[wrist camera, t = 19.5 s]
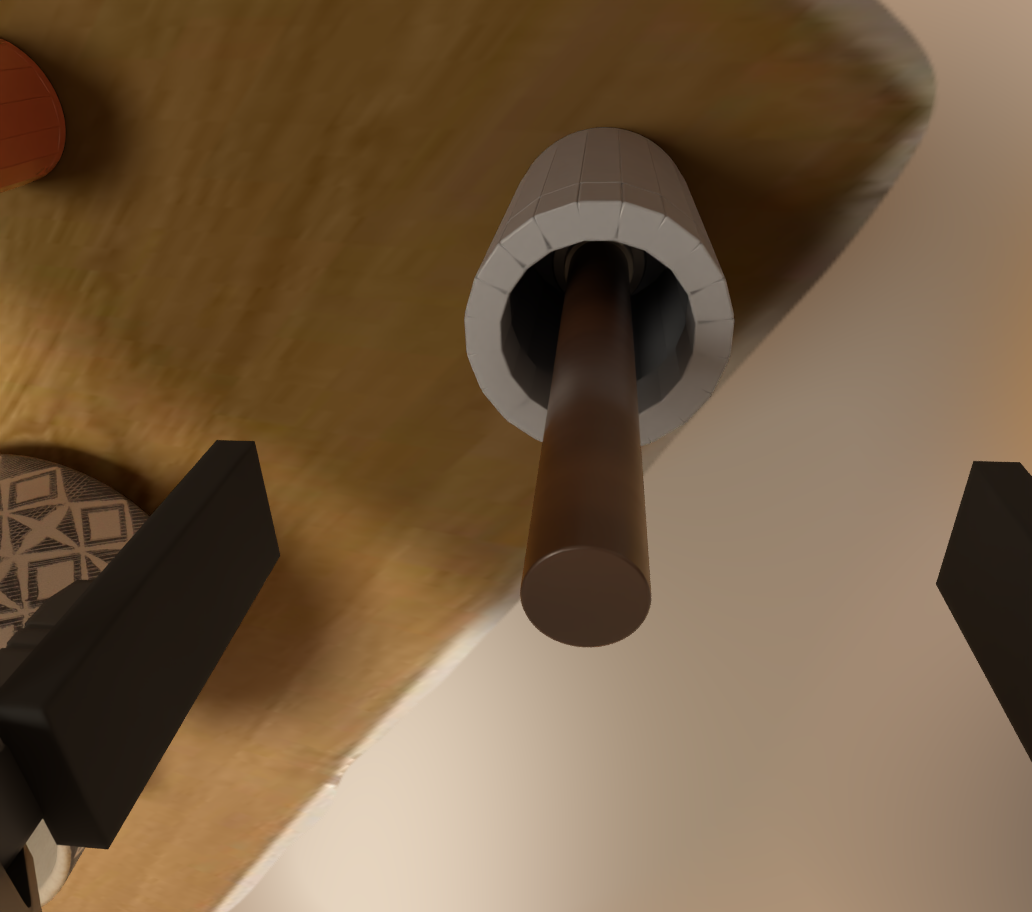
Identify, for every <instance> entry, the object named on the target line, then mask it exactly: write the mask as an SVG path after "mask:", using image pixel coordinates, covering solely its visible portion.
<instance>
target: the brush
mask: <svg viewBox="0 0 1032 912" xmlns="http://www.w3.org/2000/svg"><path fill="white" fill-rule="evenodd" d="M646 264H647V256H646V251H644V250H641V249H638V248H635V247H632V246H629V245H626V244H623V243H619V242H616V241H583V242H580V243H577V244H573V245H570V246H567V247H564V248H561V249H558V250H555V251H553V254H552V271H553V276H554V278H555V281H556V283H557V285H558V287H559V288H560V289H561V291H562V292H563V293H564V294H565V296H564V303H563V310H562V316H561V323H560V330H559V336H558V343H557V350H556V356H555V363H554V370H553V376H552V383H551V389H550V396H549V403H548V409H547V416H546V423H545V429H544V436H543V443H542V449H541V456H540V463H539V469H538V476H537V483H536V489H535V496H534V502H533V509H532V516H531V522H530V529H529V536H528V542H527V549H526V556H525V562H524V569H523V576H522V582H521V590H520V597H521V603H522V606H523V609H524V611H525V613H526V615H527V617H528V618H529V620H530V621H531V623H532V624H533V625H534V626H535V627H536V628H537V629H538V630H539V631H540V632H542V633H543V634H545V635H546V636H548V637H550V638H551V639H553V640H556V641H558V642H561V643H564V644H567V645H572V646H577V647H600V646H605V645H609V644H613V643H616V642H618V641H620V640H623V639H624V638H626V637H628V636H629V635H631V634H632V633H633V632H634V631H636V630H637V629H638V628H639V627H640V625H641V624H642V623H643V621H644V620H645V618H646V616H647V614H648V612H649V609H650V605H651V585H650V570H649V557H648V543H647V527H646V514H645V499H644V485H643V470H642V455H641V441H640V426H639V412H638V398H637V383H636V369H635V354H634V340H633V326H632V311H631V297H630V296H631V295H632V294H633V293H634V292H635V291H636V289H637V288H638V287H639V285H640V283H641V282H642V280H643V277H644V274H645V271H646Z"/></svg>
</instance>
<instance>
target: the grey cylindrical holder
mask: <svg viewBox="0 0 1032 912" xmlns="http://www.w3.org/2000/svg"><path fill="white" fill-rule="evenodd" d="M583 241H616V242H619V243H623V244H626V245H629V246H632V247H635V248H638V249H641V250H644V251H646V256H647V264H646V271H645V274H644V277H643V280H642V282H641V283H640V285H639V287H638V288H637V289H636V291H635V292H634V293H633V294H632V295H631V296H630V297H631V311H632V326H633V340H634V354H635V369H636V383H637V398H638V412H639V426H640V441H641V446H643V445H647V444H650V443H651V442H654V441H656V440H658V439H660V438H661V437H663V436H665V435H666V434H668V433H670V432H672V431H673V430H675V429H677V428H679V427H680V426H682V425H684V424H685V423H686V422H687V421H688V420H689V419H690V418H691V417H692V416H693V415H694V414H695V413H696V412H697V411H698V410H699V409H700V408H701V407H702V405H703V404H704V403H705V402H706V401H707V400H708V399H709V398H710V397H711V396H712V393H713V392H714V391H715V388H716V386H717V384H718V382H719V380H720V378H721V376H722V374H723V372H724V369H725V367H726V365H727V363H728V361H729V358H730V355H731V347H732V338H733V329H734V313H733V308H732V304H731V300H730V296H729V291H728V287H727V283H726V279H725V277H724V274H723V272H722V269H721V267H720V265H719V262H718V260H717V257H716V254H715V252H714V249H713V247H712V245H711V242H710V240H709V237H708V235H707V232H706V230H705V227H704V225H703V223H702V220H701V218H700V215H699V213H698V210H697V208H696V206H695V203H694V201H693V198H692V196H691V193H690V191H689V188H688V186H687V184H686V181H685V179H684V178H683V176H682V175H681V173H680V171H679V170H678V168H677V166H676V165H675V163H674V162H673V161H672V159H671V158H670V157H669V156H668V155H667V154H666V153H665V152H664V151H663V150H662V149H661V148H660V147H659V146H657V145H656V144H655V143H653V142H652V141H650V140H649V139H647V138H645V137H643V136H641V135H639V134H636V133H634V132H631V131H628V130H623V129H618V128H606V127H602V128H591V129H586V130H582V131H578V132H576V133H573V134H570V135H568V136H566V137H564V138H562V139H560V140H558V141H557V142H555V143H554V144H553V145H551V146H550V147H548V148H547V149H546V150H545V151H544V152H543V153H542V154H541V155H540V156H539V157H538V158H537V159H536V160H535V161H534V163H533V164H532V165H531V167H530V168H529V170H528V171H527V173H526V175H525V176H524V178H523V179H522V181H521V182H520V184H519V186H518V188H517V191H516V193H515V195H514V197H513V199H512V201H511V203H510V205H509V207H508V209H507V211H506V213H505V216H504V218H503V220H502V222H501V224H500V226H499V228H498V230H497V232H496V234H495V236H494V238H493V241H492V243H491V245H490V247H489V249H488V251H487V253H486V255H485V258H484V260H483V262H482V264H481V266H480V268H479V270H478V272H477V274H476V276H475V279H474V282H473V285H472V289H471V293H470V296H469V300H468V304H467V307H466V311H465V318H464V319H465V335H466V351H467V354H468V359H469V361H470V364H471V366H472V368H473V371H474V373H475V376H476V378H477V381H478V383H479V386H480V388H481V389H482V392H483V393H484V394H485V395H486V397H487V398H488V399H489V400H490V401H491V403H492V404H493V405H494V406H495V407H496V409H497V410H498V411H499V412H500V413H501V415H502V416H503V417H504V418H505V419H506V420H507V421H508V422H510V423H511V424H513V425H514V426H516V427H518V428H519V429H521V430H522V431H524V432H525V433H527V434H528V435H530V436H531V437H533V438H534V439H536V440H539V441H541V442H543V436H544V429H545V423H546V416H547V409H548V403H549V396H550V389H551V383H552V376H553V370H554V363H555V356H556V350H557V343H558V336H559V330H560V323H561V316H562V310H563V303H564V296H565V294H564V293H563V292H562V291H561V289H560V288H559V287H558V285H557V283H556V281H555V278H554V276H553V271H552V254H553V251H555V250H558V249H561V248H564V247H567V246H570V245H573V244H577V243H580V242H583Z"/></svg>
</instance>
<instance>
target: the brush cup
mask: <svg viewBox="0 0 1032 912" xmlns="http://www.w3.org/2000/svg"><path fill="white" fill-rule="evenodd" d="M65 138H66V127H65V119H64V115H63V110H62V107H61V104H60V101H59V99H58V96H57V94H56V92H55V90H54V88H53V86H52V85H51V83H50V81H49V80H48V78H47V77H46V76H45V74H44V73H43V71H42V70H41V69H40V68H39V67H38V66H37V64H36V63H35V62H34V61H33V60H32V59H31V58H30V57H29V56H28V55H26V54H25V53H24V52H23V51H21V50H20V49H19V48H17V47H16V46H14V45H12V44H11V43H9V42H7V41H5V40H3V39H1V38H0V193H1V192H4V191H7V190H11V189H14V188H17V187H20V186H23V185H26V184H28V183H30V182H32V181H35V180H37V179H40V178H42V177H44V176H45V175H47V174H48V173H49V172H50V171H51V170H52V169H53V168H54V167H55V166H56V164H57V163H58V162H59V160H60V157H61V155H62V153H63V149H64V145H65Z"/></svg>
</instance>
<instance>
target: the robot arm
mask: <svg viewBox="0 0 1032 912" xmlns="http://www.w3.org/2000/svg"><path fill="white" fill-rule="evenodd" d="M279 557H280V552H279V547H278V543H277V539H276V534H275V530H274V525H273V521H272V516H271V512H270V507H269V503H268V499H267V494H266V490H265V485H264V481H263V476H262V472H261V467H260V463H259V459H258V454H257V450H256V445H255V441H226V440H216V442H215V443H214V444H213V445H212V446H211V447H210V448H209V450H208V451H207V452H206V453H205V454H204V455H203V456H202V458H201V459H200V460H199V461H198V462H197V463H196V464H195V466H194V467H193V468H192V469H191V470H190V471H189V472H188V474H187V475H186V476H185V477H184V478H183V479H182V480H181V482H180V483H179V484H178V485H177V486H176V487H175V488H174V490H173V491H172V492H171V493H170V494H169V495H168V496H167V498H166V499H165V500H164V501H163V502H162V503H161V504H160V506H159V507H158V508H157V509H156V510H155V511H154V512H153V514H152V515H151V516H150V517H149V518H148V519H147V520H146V522H145V523H144V524H143V525H142V526H141V527H140V528H139V530H138V531H137V532H136V533H135V534H134V535H133V536H132V538H131V539H130V540H129V541H128V542H127V543H126V544H125V546H124V547H123V548H122V549H121V550H120V551H119V552H118V554H117V555H116V556H115V557H114V558H113V559H112V560H111V562H110V563H109V564H108V565H107V566H106V567H105V568H104V570H103V571H102V572H101V573H100V574H99V575H98V576H97V578H96V579H95V580H80V579H77V580H76V581H74V582H73V583H71V584H70V585H68V586H67V587H65V588H64V589H62V590H60V591H59V592H57V593H56V594H54V595H53V596H51V597H50V598H48V599H47V600H46V601H45V602H44V603H43V604H42V605H41V606H40V607H39V608H38V609H37V610H36V612H35V613H34V614H33V615H32V616H31V617H30V618H29V619H28V620H27V621H26V622H25V626H24V628H20V629H19V630H18V631H17V632H16V633H15V634H14V635H13V636H12V637H11V639H10V640H9V641H8V642H7V646H6V648H1V649H0V912H42V909H41V903H40V897H39V891H38V884H37V878H36V872H35V866H34V859H33V856H32V854H31V852H30V850H29V848H28V847H27V845H26V842H27V840H28V839H29V838H30V836H31V835H32V833H33V832H34V830H35V829H36V827H37V826H38V824H39V823H40V822H41V820H42V819H43V820H44V822H45V824H46V826H47V828H48V829H49V831H50V833H51V835H52V837H53V839H54V841H55V843H56V845H64V846H76V847H87V848H99V849H109V847H110V845H111V844H112V842H113V840H114V838H115V837H116V835H117V833H118V832H119V830H120V828H121V826H122V825H123V823H124V821H125V820H126V818H127V816H128V815H129V813H130V811H131V809H132V808H133V806H134V804H135V803H136V801H137V799H138V797H139V796H140V794H141V792H142V791H143V789H144V787H145V786H146V784H147V782H148V780H149V779H150V777H151V775H152V774H153V772H154V770H155V768H156V767H157V765H158V763H159V762H160V760H161V758H162V757H163V755H164V753H165V751H166V750H167V748H168V746H169V745H170V743H171V741H172V739H173V738H174V736H175V734H176V733H177V731H178V729H179V728H180V726H181V724H182V722H183V721H184V719H185V717H186V716H187V714H188V712H189V710H190V709H191V707H192V705H193V704H194V702H195V700H196V699H197V697H198V695H199V693H200V692H201V690H202V688H203V687H204V685H205V683H206V681H207V680H208V678H209V676H210V675H211V673H212V671H213V670H214V668H215V666H216V664H217V663H218V661H219V659H220V658H221V656H222V654H223V652H224V651H225V649H226V647H227V646H228V644H229V642H230V641H231V639H232V637H233V635H234V634H235V632H236V630H237V629H238V627H239V625H240V623H241V622H242V620H243V618H244V617H245V615H246V613H247V612H248V610H249V608H250V606H251V605H252V603H253V601H254V600H255V598H256V596H257V594H258V593H259V591H260V589H261V588H262V586H263V584H264V583H265V581H266V579H267V577H268V576H269V574H270V572H271V571H272V569H273V567H274V565H275V564H276V562H277V560H278V559H279ZM936 585H937V587H938V589H939V591H940V592H941V594H942V596H943V598H944V600H945V602H946V604H947V605H948V607H949V609H950V611H951V613H952V615H953V617H954V618H955V620H956V622H957V624H958V626H959V628H960V630H961V631H962V633H963V635H964V637H965V639H966V640H967V643H968V644H969V646H970V648H971V650H972V652H973V654H974V656H975V657H976V659H977V661H978V663H979V665H980V667H981V669H982V670H983V672H984V674H985V676H986V678H987V679H988V681H989V683H990V685H991V687H992V689H993V691H994V693H995V694H996V696H997V698H998V700H999V702H1000V704H1001V706H1002V708H1003V709H1004V711H1005V713H1006V715H1007V717H1008V718H1009V721H1010V722H1011V724H1012V726H1013V728H1014V730H1015V732H1016V734H1017V735H1018V737H1019V739H1020V741H1021V743H1022V745H1023V746H1024V748H1025V750H1026V752H1027V754H1028V755H1029V758H1030V760H1031V761H1032V476H1031V475H1030V474H1029V473H1028V471H1027V470H1026V469H1025V468H1024V467H1023V465H1022V464H1021V463H1020V462H986V461H984V462H983V461H973V464H972V468H971V471H970V474H969V477H968V481H967V484H966V487H965V491H964V494H963V497H962V500H961V504H960V507H959V510H958V513H957V517H956V520H955V523H954V527H953V530H952V533H951V537H950V540H949V543H948V546H947V550H946V553H945V556H944V559H943V563H942V566H941V569H940V572H939V576H938V579H937V582H936Z"/></svg>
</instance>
